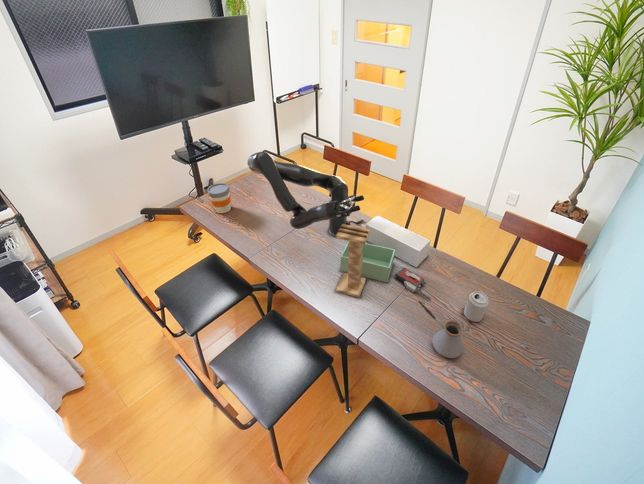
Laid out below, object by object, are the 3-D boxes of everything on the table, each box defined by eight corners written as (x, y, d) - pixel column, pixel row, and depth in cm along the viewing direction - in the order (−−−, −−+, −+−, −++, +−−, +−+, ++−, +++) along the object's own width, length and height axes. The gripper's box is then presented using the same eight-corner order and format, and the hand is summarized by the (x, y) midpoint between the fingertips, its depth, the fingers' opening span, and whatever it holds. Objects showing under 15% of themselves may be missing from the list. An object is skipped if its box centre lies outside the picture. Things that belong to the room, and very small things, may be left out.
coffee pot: (467, 347, 127) (477, 324, 118) (452, 368, 120) (461, 344, 111) (420, 315, 139) (425, 291, 130) (404, 332, 132) (409, 308, 123)
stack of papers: (427, 256, 168) (430, 240, 161) (416, 267, 161) (419, 251, 155) (376, 230, 185) (377, 215, 178) (364, 239, 178) (365, 224, 172)
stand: (335, 291, 149) (334, 235, 130) (342, 274, 158) (343, 220, 138) (360, 297, 146) (364, 242, 127) (366, 280, 155) (371, 225, 135)
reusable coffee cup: (212, 205, 206) (206, 184, 197) (233, 202, 209) (228, 181, 200) (212, 216, 196) (206, 195, 187) (234, 212, 199) (229, 191, 190)
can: (467, 305, 143) (474, 286, 136) (484, 314, 139) (492, 295, 132) (460, 316, 138) (467, 297, 131) (478, 326, 134) (486, 307, 127)
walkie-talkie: (391, 279, 155) (429, 302, 144) (392, 273, 152) (430, 296, 141) (401, 269, 160) (438, 291, 149) (402, 263, 157) (440, 284, 147)
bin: (340, 270, 160) (340, 256, 154) (348, 253, 170) (349, 239, 164) (387, 282, 154) (389, 268, 148) (393, 263, 164) (395, 249, 158)
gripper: (320, 212, 141) (354, 203, 134) (330, 196, 152) (361, 187, 145) (328, 226, 144) (361, 218, 137) (336, 209, 155) (367, 201, 148)
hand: (361, 202), depth 141 cm, fingers open, 8 cm apart
